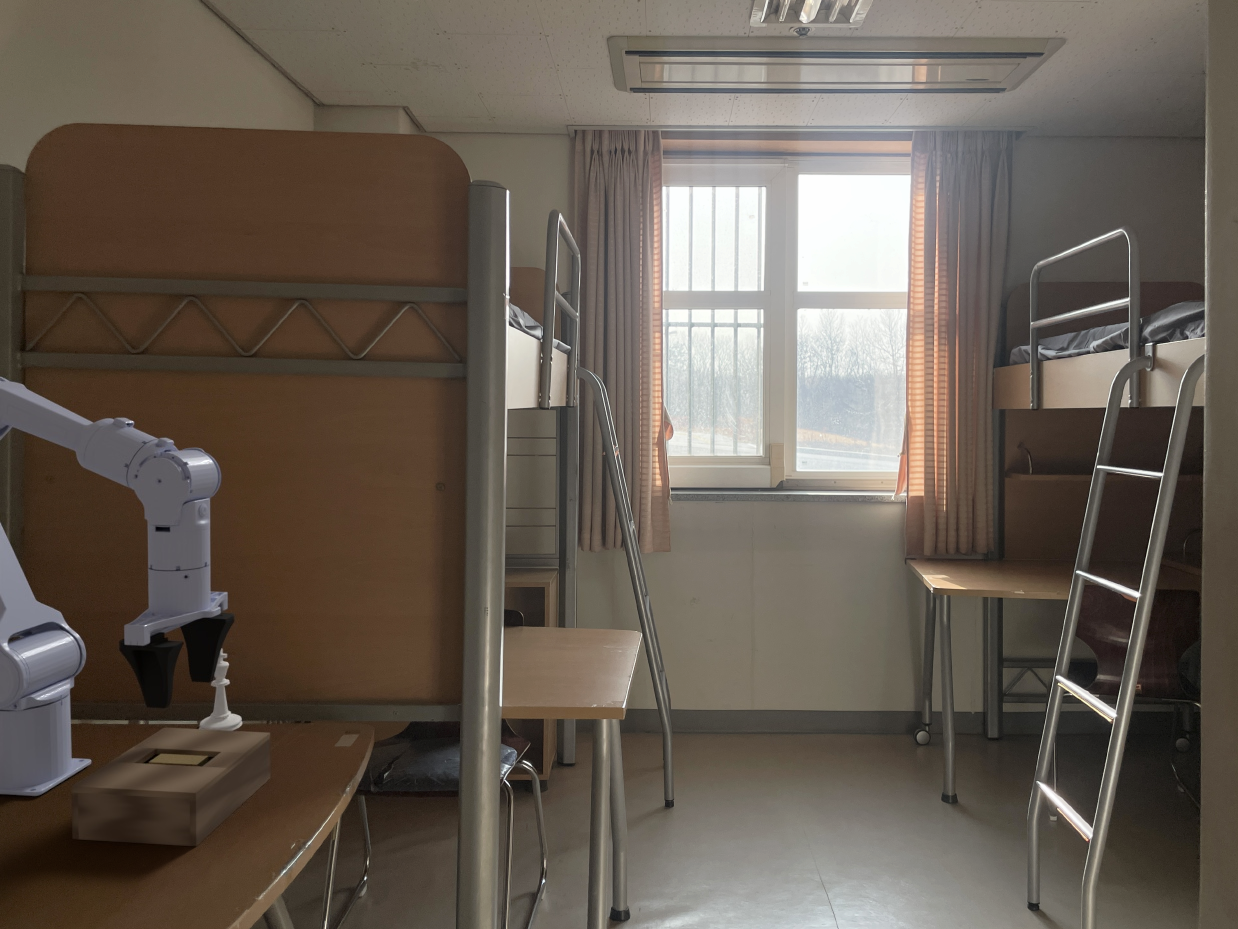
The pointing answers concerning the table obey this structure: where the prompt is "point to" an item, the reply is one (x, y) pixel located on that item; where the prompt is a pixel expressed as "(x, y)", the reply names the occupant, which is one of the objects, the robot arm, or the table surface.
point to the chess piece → (221, 702)
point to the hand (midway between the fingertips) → (181, 693)
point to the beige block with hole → (171, 788)
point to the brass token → (180, 760)
